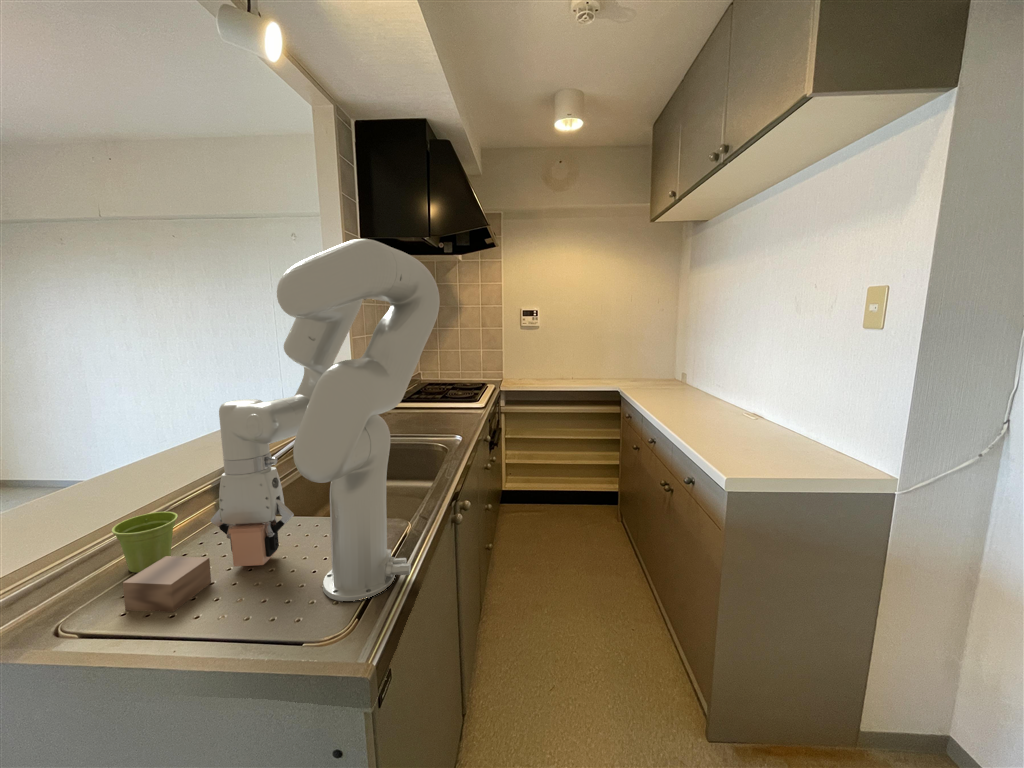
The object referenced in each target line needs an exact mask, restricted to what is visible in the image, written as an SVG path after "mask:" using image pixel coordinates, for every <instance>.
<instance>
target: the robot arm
mask: <svg viewBox="0 0 1024 768" xmlns="http://www.w3.org/2000/svg"><path fill="white" fill-rule="evenodd" d="M276 298H277V302H278V304H279V306H280V308H281V310H282V311H283V312H284V313H286V315H288V316H290V317H292V318H295V319H294V321H293V323H292V326H291V327H290V328H291V329H290V330H289V332H288V334H287V336H286V338H285V341H284V343H283V351H284V353H285V355H287V357H288V358H289V359H291V360H292V361H293V362H295V363H296V364H298V365H299V366H301V367H303V376H302V379H301V382H300V384H299V386H298V389H297V390H296V393H295V394H294V396H289V397H282V398H278V399H274V400H269V401H262V400H260V399H257V398H256V399H249V398H248V399H247V398H246V399H237V400H231V401H226V402H223V403H222V404H221V405H220V406H219V409H218V416H219V417H218V418H219V427H220V439H221V448H222V449H221V450H222V459H223V468H224V469H223V470H224V472H223V473H222V474H221V476H220V477H221V478H220V483H219V491H218V495H219V496H218V498H219V499H218V505H219V506H218V507H219V508H218V510H217V511H216V512H215V514H214V515H213V516H212V517H211V518H210V523H212V524H213V525H214V526H216V527H217V528H219V530H220V531H221V532H223V534H225V535H226V538H227V539H229V540H230V550H231V552H232V543H231V534H229V529H230V528H232V527H233V526H236V525H238V524H256V523H262V525H265V531H266V533H267V536H266V537H265V549H266V556H267V557H270V556H271V555H272V554H273V553H274V552H275V551H276V550H277V551H278V549H279V547H280V546H279V543H280V542H279V531H280V530H281V528H283V527H284V526H285V524H287V523H288V522H289V521H290V520H291V519H292V518H293V517H294V516H295V515H294V512H292V510H290V508H288V506H286V505H285V499H284V493H283V488H282V487H283V486H282V482H281V478H280V475H279V472H278V469H277V467H276V466H273V465H277V464H278V458H277V457H276V456H275V457H273V456H272V452H271V448H270V444H273V443H277V442H280V441H283V440H287V439H289V438H293V437H295V440H294V442H293V450H292V451H293V452H292V455H293V462H294V464H295V467H296V469H297V471H298V472H299V474H300V475H301V476H302V477H303V478H305V479H306V480H308V481H310V482H314V483H322V484H323V483H330V487H329V513H330V515H329V516H330V518H329V519H330V521H329V522H330V544H331V545H330V547H331V549H330V550H331V570H328V572H327V573H326V574H325V576H324V578H323V581H322V591H323V593H324V595H326V596H327V597H328V598H329V599H332V600H334V601H338V602H343V601H353V602H355V601H354V600H359V599H362V598H366V597H367V598H368V599H371V598H370V597H372V596H374V595H376V594H378V593H379V592H381V591H383V590H384V589H386V588H387V587H388V586H389V585H390V584H391V583H392V581H393V580H394V578H395V579H396V577H395V575H396V576H397V575H398V576H409V575H410V574H411V571H412V565H411V563H409V562H408V563H407V559H408V558H407V557H398V558H395V556H392V549H391V548H390V549H388V535H387V534H388V533H387V532H388V529H387V528H388V527H387V525H388V524H387V519H388V518H387V476H388V475H387V472H388V463H389V456H390V451H391V450H390V449H391V432H390V427H389V426H388V424H387V422H386V420H385V419H384V418H383V417H381V416H380V415H381V414H384V413H387V412H389V411H391V410H393V409H395V408H397V406H398V405H399V404H401V402H402V400H403V399H404V396H405V394H406V391H407V389H408V387H409V384H410V381H411V379H412V377H413V375H414V373H415V370H416V368H417V366H418V363H419V361H420V359H421V356H422V353H423V351H424V349H425V346H426V344H427V342H428V340H429V337H430V336H431V333H432V331H433V329H434V327H435V324H436V321H437V318H438V316H439V311H440V304H441V303H440V302H441V301H440V293H439V287H438V285H437V282H436V279H435V278H434V276H433V275H432V273H431V271H430V270H429V269H428V267H426V266H425V265H424V263H422V262H421V261H420V260H419V259H417V258H415V257H414V256H413V255H411V254H408V252H407V253H406V252H404V251H402V250H400V249H397V248H394V247H391V246H390V245H387V244H385V243H383V242H380V241H378V240H375V239H370V238H369V239H368V238H358V239H357V238H356V239H350V240H349V241H346V242H343V243H341V244H338V245H336V246H333V247H330V248H328V249H327V250H324V251H322V252H321V251H320V252H319V253H317V254H314V255H311V256H309V257H307V258H304V259H303V260H301V261H298V262H297V263H294V265H291V267H289V268H288V269H286V270H285V272H284V273H283V274H282V275H281V277H280V278H279V281H278V284H277V287H276ZM366 299H367V300H368V299H370V300H377V301H381V302H382V301H383V302H388V303H389V309H388V310H387V312H386V313H385V314H384V316H383V317H382V318H381V319H380V320H379V321H378V323H377V325H376V326H375V328H374V331H373V332H372V335H371V338H370V340H369V343H368V345H367V347H366V349H365V351H364V353H363V354H362V356H361V357H359V358H354V359H353V358H352V359H345V360H341V361H338V362H336V363H335V360H336V359H337V356H338V354H339V352H340V350H341V349H342V346H343V344H344V342H345V340H346V338H347V337H348V335H349V332H350V330H351V328H352V325H353V323H354V322H355V320H356V318H357V316H358V314H359V311H360V309H361V307H362V304H363V300H366ZM275 515H276V516H275ZM278 515H280V516H281V518H280V519H279V520H278V519H277V516H278ZM270 522H271V523H270ZM394 581H395V580H394ZM386 590H387V589H386ZM378 595H379V594H378ZM376 596H377V595H376ZM374 597H375V596H374ZM372 598H373V597H372Z"/></svg>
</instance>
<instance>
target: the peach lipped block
mask: <svg viewBox="0 0 1024 768" xmlns="http://www.w3.org/2000/svg"><path fill="white" fill-rule="evenodd" d="M275 516H276V517H277V515H275ZM270 523H271V522H270ZM229 534H231V541H230V544H231V543H232V551H231V554H232V563H233V565H232V566H233V567H235V568H236V567H248V566H249V567H251V566H264V565H265V564H267V562H268V561H269V560H270V559H271V558H272V557H273V556H274V555H275V554H276V553H277V552H278V549H277V550H276V551H275V552H274V553H273V554H272V555H271V556H270V557H267V556H266V549H265V537H266V536H267V533H266V531H265V525H262V523H256V524H238V525H236V526H233V527H232V528H230V529H229Z"/></svg>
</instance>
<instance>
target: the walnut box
mask: <svg viewBox="0 0 1024 768" xmlns="http://www.w3.org/2000/svg"><path fill="white" fill-rule="evenodd" d="M210 561H211V560H210V557H200V556H199V557H197V556H178V555H177V556H175V555H174V556H173V555H171V556H165V557H164V558H162V559H161V560H159V561H157V562H156V563H154V564H152V565H151V566H149V567H147V568H146V569H144V570H142V571H141V572H136V574H134V575H133V576H131V577H130V578H127V579H126V580H124V581H122V589H123V600H124V609H125V611H136V612H137V611H138V612H140V611H141V612H158V613H159V612H161V613H162V612H163V613H164V612H165V613H174V612H175V611H177V610H178V609H180V608H181V607H182V606H183V605H184V604H187V602H188V601H190V600H191V599H192V598H193V597H195V596H196V595H197V594H199V593H200V592H202V590H204V589H205V588H206V587H208V586H209V585H211V583H212V577H211V562H210Z"/></svg>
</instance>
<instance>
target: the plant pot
mask: <svg viewBox="0 0 1024 768" xmlns="http://www.w3.org/2000/svg"><path fill="white" fill-rule="evenodd" d="M178 516H179V515H178V514H177V513H176V512H173V511H156V512H150V513H144V514H140V515H137V516H133V517H130V518H128V519H124V520H122V521H121V522H119V523H117V524H115V525H114V526H113V527H112V528H111V532H112V534H113V535H115V536H116V539H117V540H118V541H119V543H120V547H121V550H122V553H123V556H124V559H125V562H126V566H127V569H128V571H129V572H130V573H131V572H132V573H139V572H141V571H142V570H144V569H146V568H147V567H149V566H151V565H152V564H154V563H156V562H157V561H159V560H161V559H162V558H164V557H165V556H172V543H173V534H174V527H175V525H176V521H177V520H178Z"/></svg>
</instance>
